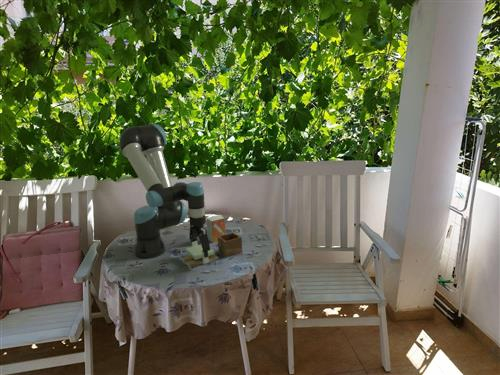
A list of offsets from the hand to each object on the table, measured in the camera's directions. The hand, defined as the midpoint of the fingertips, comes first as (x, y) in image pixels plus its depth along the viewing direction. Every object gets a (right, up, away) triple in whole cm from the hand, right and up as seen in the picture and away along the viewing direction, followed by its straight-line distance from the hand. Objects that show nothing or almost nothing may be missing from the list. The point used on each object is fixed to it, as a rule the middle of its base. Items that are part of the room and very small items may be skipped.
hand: (200, 258), depth 187 cm
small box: (+6, +5, +22) cm, 23 cm away
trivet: (0, -1, 0) cm, 1 cm away
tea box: (+14, +1, +6) cm, 15 cm away
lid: (0, +3, -1) cm, 3 cm away
